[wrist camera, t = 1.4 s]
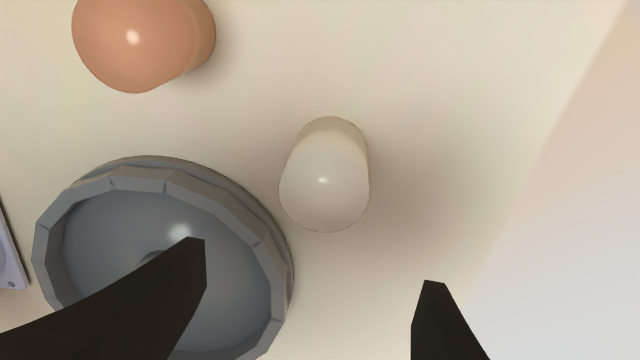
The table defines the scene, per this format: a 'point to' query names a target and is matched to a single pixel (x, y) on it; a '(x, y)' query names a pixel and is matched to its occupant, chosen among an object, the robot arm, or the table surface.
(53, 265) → the groove tray
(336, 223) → the cream bead
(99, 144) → the table surface
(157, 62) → the terracotta bead
